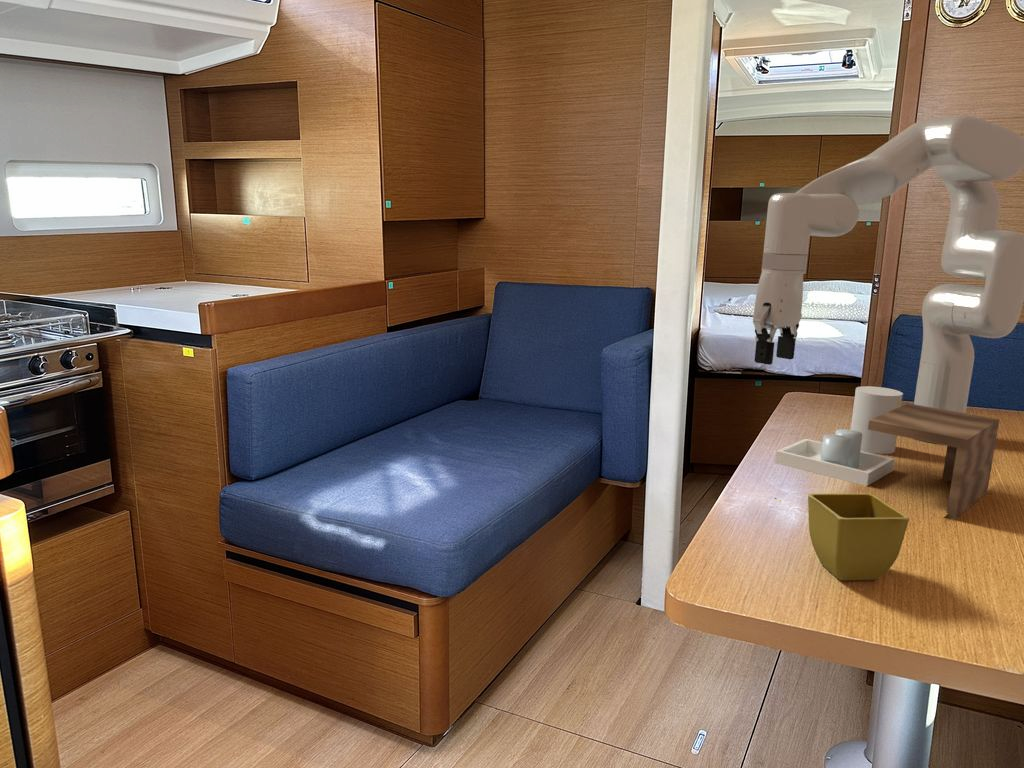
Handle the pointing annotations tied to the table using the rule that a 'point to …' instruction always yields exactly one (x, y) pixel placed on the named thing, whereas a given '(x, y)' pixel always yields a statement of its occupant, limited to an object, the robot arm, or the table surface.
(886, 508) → the flower pot
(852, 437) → the grey rounded cylinder
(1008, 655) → the table surface
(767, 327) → the robot arm
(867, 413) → the white cylinder
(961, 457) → the counter
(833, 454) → the blue-grey rounded cylinder
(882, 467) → the tray
